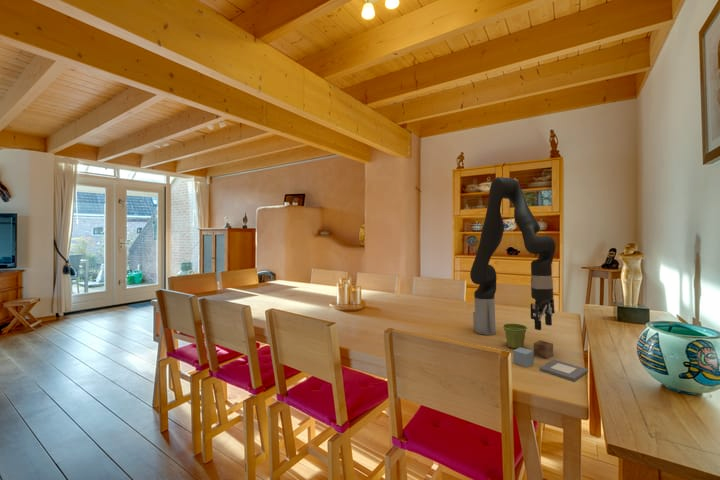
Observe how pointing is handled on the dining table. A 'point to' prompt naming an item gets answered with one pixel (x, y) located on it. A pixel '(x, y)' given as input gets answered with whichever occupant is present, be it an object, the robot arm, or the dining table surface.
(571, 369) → the plate
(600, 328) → the dining table surface
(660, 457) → the dining table surface
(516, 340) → the plant pot
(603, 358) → the dining table surface
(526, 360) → the blue block
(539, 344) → the walnut block
